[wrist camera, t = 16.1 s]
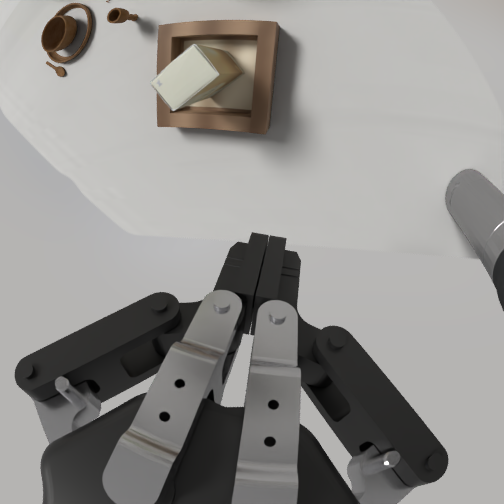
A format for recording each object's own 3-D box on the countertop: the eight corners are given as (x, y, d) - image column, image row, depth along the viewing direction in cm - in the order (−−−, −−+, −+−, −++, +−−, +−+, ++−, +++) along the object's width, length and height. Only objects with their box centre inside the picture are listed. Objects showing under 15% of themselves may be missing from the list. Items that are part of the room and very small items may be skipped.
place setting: (76, -16, 21) (53, -18, 17) (149, 10, 26) (127, 6, 22) (40, 62, 31) (18, 68, 27) (100, 100, 37) (78, 108, 32)
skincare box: (210, 98, 34) (170, 115, 24) (191, 76, 32) (146, 84, 22) (248, 72, 30) (220, 75, 21) (228, 48, 29) (193, 42, 19)
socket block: (279, 26, 27) (276, 21, 23) (269, 127, 36) (265, 134, 33) (172, 27, 28) (158, 25, 25) (169, 120, 37) (157, 126, 34)
